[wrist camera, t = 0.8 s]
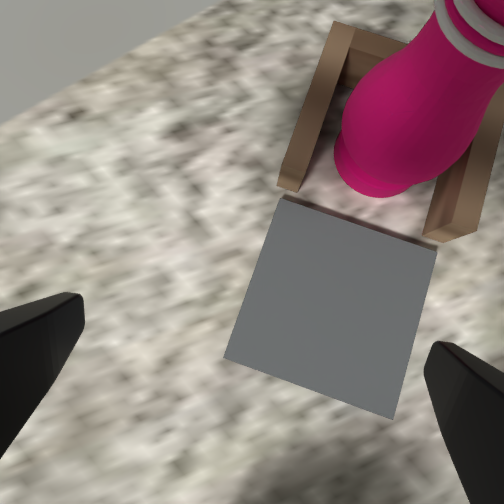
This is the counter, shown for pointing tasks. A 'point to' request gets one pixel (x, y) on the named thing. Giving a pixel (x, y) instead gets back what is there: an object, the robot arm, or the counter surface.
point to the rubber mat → (333, 308)
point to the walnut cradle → (448, 183)
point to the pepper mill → (423, 100)
